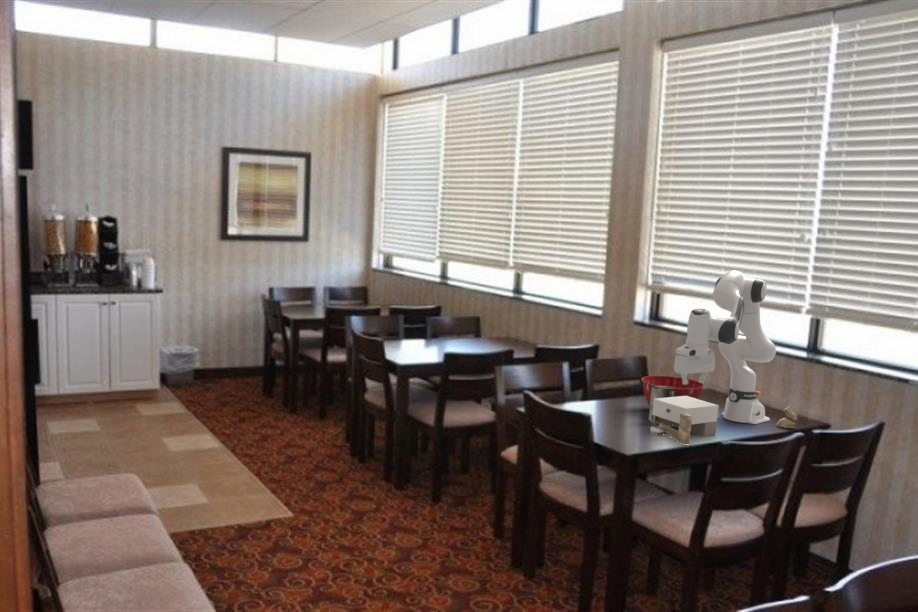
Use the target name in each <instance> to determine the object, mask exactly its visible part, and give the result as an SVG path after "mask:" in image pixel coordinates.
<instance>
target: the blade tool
mask: <svg viewBox="0 0 918 612" xmlns="http://www.w3.org/2000/svg"><path fill="white" fill-rule="evenodd" d="M691 423H692V416H691V415H689V414H686V413H680V423H679V428H678V430H676V429H675V428H673V427H671V426H669V424H664V423H662V422H660V424H658V426H659V427H663V428H665V435H666V434H667V435H666V436H667V437H669V438H671V437H672V438H671V439H673V438H674V439H673V440H675V439H676V440H675V441H676V442H677V443H678V442H679V443H678V444H680V443H681V444H689V445H690V439H691V433H692V432H691ZM681 444H680V445H681Z"/></svg>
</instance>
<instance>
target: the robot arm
mask: <svg viewBox="0 0 918 612" xmlns="http://www.w3.org/2000/svg"><path fill="white" fill-rule="evenodd" d="M767 290H768V289H767V284H766V282H765V281H764V280H763V279H760V278H752V277H747V276H745V275H744V273H743V272H741V271H739V270H729V271H728V272H726V273H725V274H724V275H723V276H721V277H719V278H718V279H717V280H716V282H715V285H714V289H713V292H712V299H713V301H714V303H715V304H716V306H718V308H720V309H722V310H724V311H728V312H730V316H729V317H727V318H722V317H715V316H711V312H710V310H708V309H706V308H705V309H704V308H694V309H692V310H691V311H690V312H689V316H688V320H687V326H686V328H687V329H686V333H687V337H686V340H685V344H683V345H681V346H679V347H677V348H676V349H675V354H676V355H675V358H674V364H673V370H674V373H675V374H678V375H680V376H681V377H680V378H682V380H683V381H682V384H684V385H686V384H688V380H687V379H688V378H687V377H688V374H689V375H690V374H699V373H701V374H700V377H699V378H698V382H699V383H703V384H704V383H705V380H706V378H707V376H708V373H712V372H714V371H715V369H716V356H715V351H714V350H713V349H712V348H709V347H710V346H709V345H710V342H709V341H711V342H718V350H719V353H720V354H721V355H722V356H723V357H724V358H725V360H726V361H727V363H728V365H729V369H730V380H729V381H730V383H729V388H728V390H727V393H728V394H727V396H728V397H727V398H726V400H725V405H724V411H723V412H722V413H721V415H722V417H723V418H724V419H726V420H727V421H732V422H737V423H743V424H745V423H746V424H753V425H758V424H760V423H765V422H769V421H771V419H770V417H768V416H766V408H765V406H764V405H763V404H762V403H761V401H759V399H758V397H757V396H760V397H761V393H762V392H761V391H758V390H756V382H757V374H756V372H755V371H754V370H753V369H751V367H749V366H748V364H747V362H746V361H748V362H753V363H770V362H772V361H773V360H774V358H775V356H776V354H777V348H776V345H775V343H774V342H773V341H772V340H770V339H769V338H768V337H767V336H766V334H765V332H764V331H763V328H762V325H761V312H760V311H761V309H760V303H761V302H762V301H763V300H765V298H766V296H767V293H768V292H767ZM740 332H741V333H742V334H743V335H740Z"/></svg>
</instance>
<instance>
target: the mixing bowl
mask: <svg viewBox="0 0 918 612" xmlns="http://www.w3.org/2000/svg"><path fill="white" fill-rule="evenodd" d="M640 379H641V383H642V388H643V393H644V396H645V399H646V402H647V404H648V406H649V407H650V400H651V388H652V386H670V387H673V388H675V389H676V395H675V397H678V396H689V397H692V398H696V399H700V397H701V393H702V391H703V387H704V386H705V385H704V383H699V380H695V379H691V378H687V380H688V384H686V385H684V384H682V381H683V380H682V377H680V376H672V375H669V376H668V375H648V376H643V377H641V378H640Z"/></svg>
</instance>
